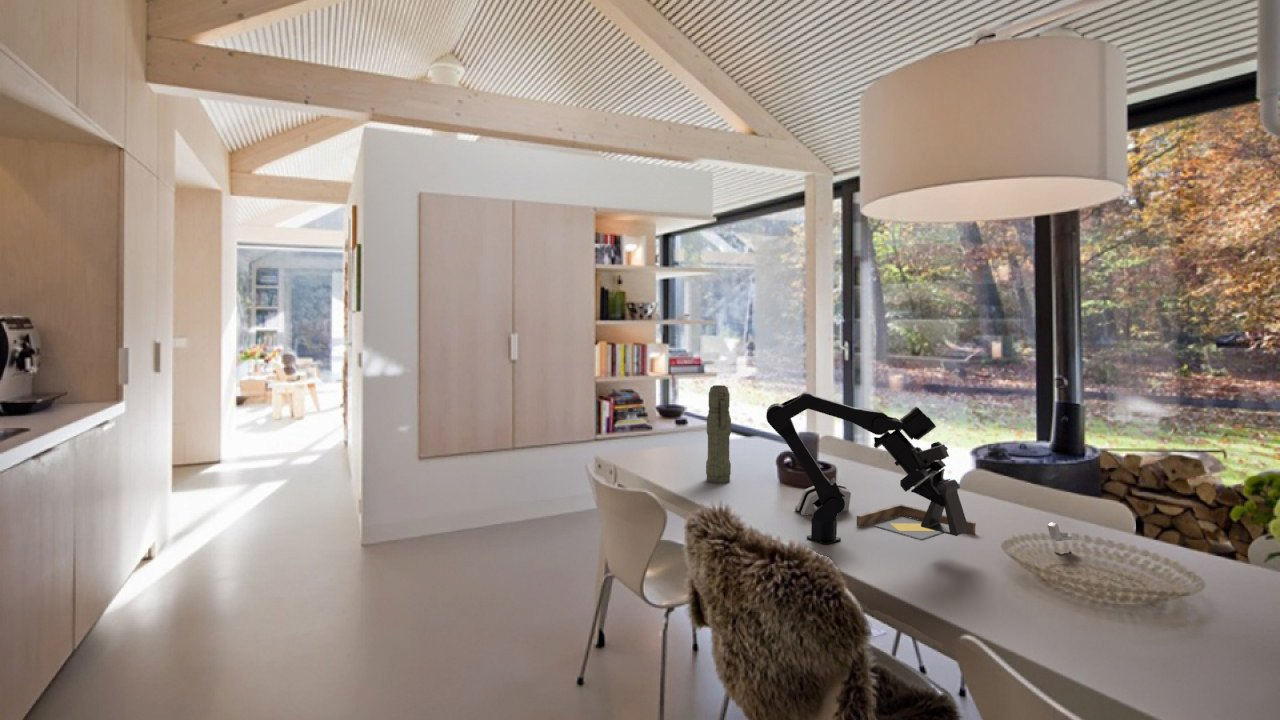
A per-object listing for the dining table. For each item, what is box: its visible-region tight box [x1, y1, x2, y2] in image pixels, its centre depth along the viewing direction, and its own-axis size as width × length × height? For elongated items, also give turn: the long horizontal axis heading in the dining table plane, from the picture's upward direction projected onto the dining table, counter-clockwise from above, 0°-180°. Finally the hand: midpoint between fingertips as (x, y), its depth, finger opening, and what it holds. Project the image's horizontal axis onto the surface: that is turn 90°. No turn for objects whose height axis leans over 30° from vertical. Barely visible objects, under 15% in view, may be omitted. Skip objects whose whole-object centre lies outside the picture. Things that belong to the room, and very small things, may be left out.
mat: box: [874, 516, 944, 541], centre depth 174 cm, size 14×14×1 cm
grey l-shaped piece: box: [1047, 522, 1073, 541], centre depth 155 cm, size 7×2×8 cm, turn 113°
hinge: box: [794, 483, 852, 516], centre depth 190 cm, size 17×5×10 cm, turn 109°
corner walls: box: [856, 503, 977, 535], centre depth 173 cm, size 21×23×3 cm
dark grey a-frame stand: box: [921, 478, 969, 537], centre depth 152 cm, size 9×6×12 cm, turn 38°
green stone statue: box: [705, 384, 732, 484], centre depth 228 cm, size 9×12×35 cm
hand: (948, 502), depth 152 cm, fingers closed on dark grey a-frame stand, 6 cm apart
